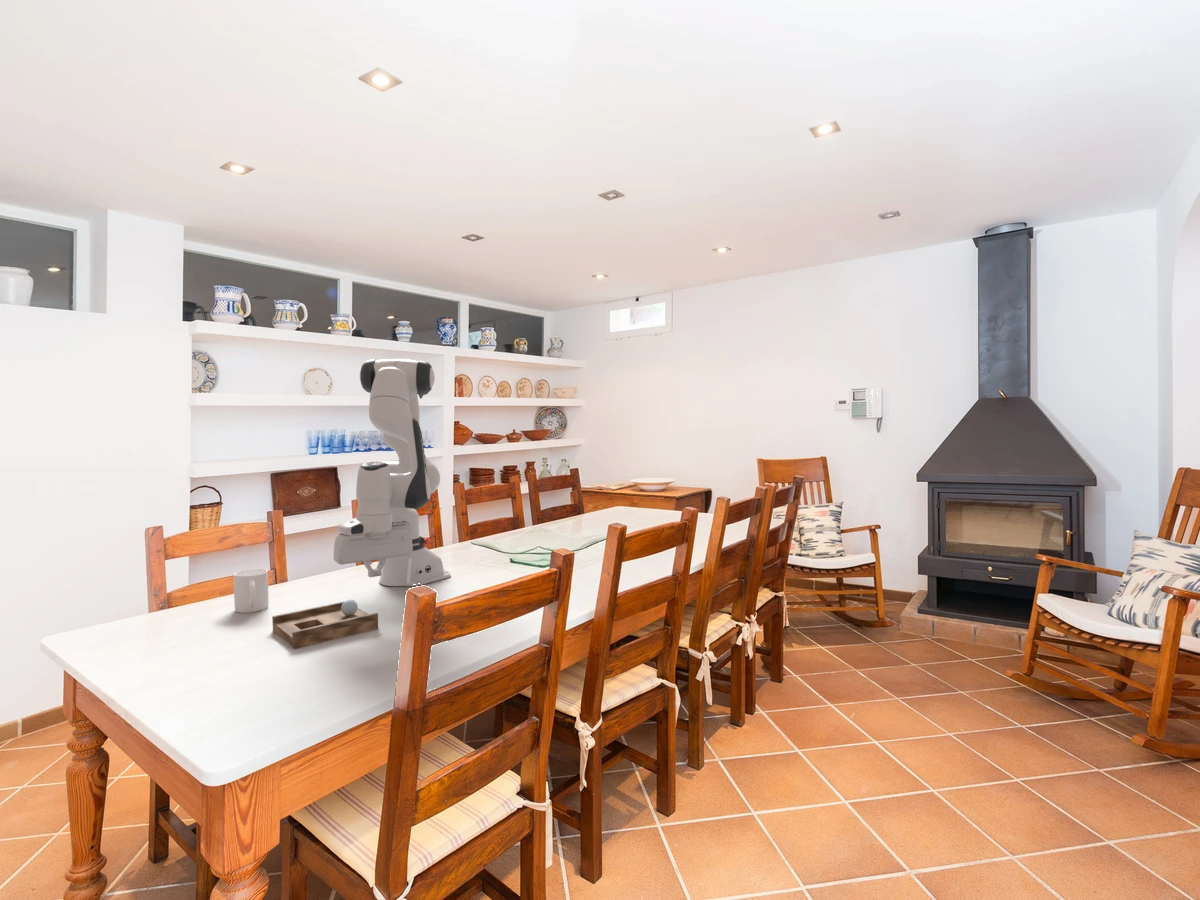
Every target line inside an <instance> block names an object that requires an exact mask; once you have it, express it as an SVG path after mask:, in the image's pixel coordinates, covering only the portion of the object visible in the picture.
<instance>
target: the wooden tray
mask: <svg viewBox="0 0 1200 900" xmlns="http://www.w3.org/2000/svg"><path fill="white" fill-rule="evenodd" d="M345 601H346V600H344V601H340V602H334V603H330V604H323V605H321V606H316V607H310V608H306V609H300V610H297V611H295V610H294V611H291V612H287V613H281V614H277V615H271V616H272V632H273V633H274V634H275V635H276V636H278V637H279V638H280V639H281V640H282V641H284V642H285V643H286V644H287V645H288V646H290V647H291V648H292V649H293V650H298V649H301V648H305V647H309V646H313V645H317V644H321V643H326V642H329V641H333V640H337V639H342V638H344V637H345V638H346V637H350V636H354V635H358V634H362V633H365V632H366V633H367V632H371V631H374V630H378V629H379V613H378V612H372V613H368V612H366V611H364V610H362V609H361V608H359V607H358V609H357V611H356V613H355V614H353V615H351V616H347V615H344V614H343V613H342V611H341V606H342V604H343V603H344V602H345Z"/></svg>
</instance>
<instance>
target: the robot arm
mask: <svg viewBox="0 0 1200 900" xmlns="http://www.w3.org/2000/svg"><path fill="white" fill-rule="evenodd" d="M359 381H360V385H361V388H362V389H363V390H364V391H366V393H369V394H370V395H369V403H368V404H369V406H368V415H369V420H370V422H371V424H372V426H373V427H374V428H376V429H377V430H379V432H381V433H382V435H383V436H382V437H383V438H382V440H383V442H384V444H385V445H386V447H389V449H391V450H393V451H395V453H396V454H397V457H398V461H395V460H381V461H369V462H364V463H362V464H361V465H360V466H359V467H358V471H357V476H356V477H357V478H356V486H355V488H356V491H355V492H356V494H355V497H356V500H357V509H356V512H355V513H356V514H355V515H356V517H354V518H351V519H349V520H347V521H344V522H341V523H340V524H338V525H337V527H336V529H337V533H339V534H338V535H337V536H336V537H335V539H334V545H333V560H334V561H335V563H336V564H337V565H338V564H339V565H340V566H341V565H342V566H343V565H348V564H355V563H363V565H364V566H365V568H366V569H367V576H368V577H369V578H374V577H375V578H376V577H380V578H379V581H378V582H379V584H380V585H383V586H389V587H419V586H421V585H426V584H429V583H433V582H437V581H440V580H444V579H448V578H450V577H451V572H450V571H449V570H446V569H445V568H444V564H443V559H441V557H440V556H439V555H437V554H436V553H434V552H433V551H431V550H430V549H429V548H428V547H425V545H429V544H431V542H432V539H431V538H429V537H423V536H420V515H419V513H418V511H417V510H420V509H422V508H423V507H424V506H425V505H427V504H428V502H429V501H430V500H431V499H430V498H431V494H434V493H435V492H436V491H437V489H438V488H439V486H440V483H441V474H440V472H439V469H438V467H437V466H436V465H435V464H434V463H432V462H431V461H430V460H429V459H428V457H427V456H426V454H425V447H424V446H425V445H424V440H423V435H422V429H421V426H420V404H419V399H423V397H424V396H426V395H428V393H430V392H431V391H432V390H433V386H434V384H435V372H434V369H433V367H432V365H431V363H429V362H428V361H424V360H415V359H414V360H413V359H407V358H406V359H404V358H403V359H402V358H396V359H393V358H392V359H369V360H365V361H364V363H362V365H361V368H360V370H359ZM375 560H376V561H377V563H378V564H377V566H376V567H375V568H372V565H373V561H375ZM418 583H420V584H418ZM413 584H416V585H413ZM409 585H411V586H409ZM418 585H419V586H418Z"/></svg>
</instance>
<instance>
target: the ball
mask: <svg viewBox="0 0 1200 900" xmlns="http://www.w3.org/2000/svg"><path fill="white" fill-rule="evenodd" d="M344 601H345V602H344ZM344 601H343V602H344V603H343V604H342V606H341V611H342V613H343V614H344V615H347V616H351V615H353V614H355V613H356V611H357V609H358V608H359V605H358V603H357V602H356V600H354V599H347V600H344Z"/></svg>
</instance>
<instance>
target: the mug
mask: <svg viewBox="0 0 1200 900" xmlns="http://www.w3.org/2000/svg"><path fill="white" fill-rule="evenodd" d="M268 573H269V571H268V569H265V568H249V569H244V570H243V569H242V570H240V571H237V572H234V573H233V594H234V595H233V599H234V602H233V603H234V610H235V611H236V612H237V613H239V614H240V613H241V614H250V612H251V613H255V612H260V611H263V610H266V609H267V608H268V607H269V602H270V601H269V598H270V597H269V574H268Z"/></svg>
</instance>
